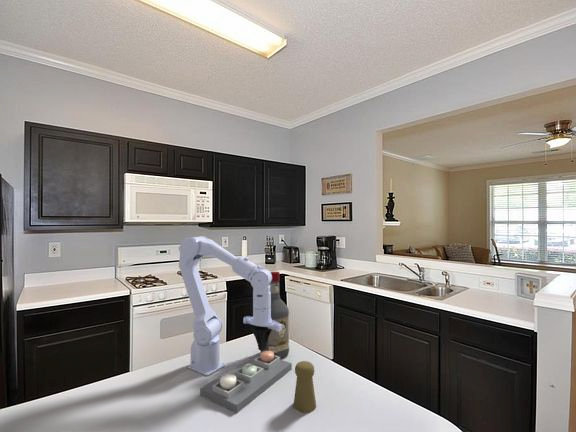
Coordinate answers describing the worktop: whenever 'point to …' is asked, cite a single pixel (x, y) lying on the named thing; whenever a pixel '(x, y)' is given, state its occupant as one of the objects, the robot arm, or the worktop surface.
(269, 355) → the terracotta button
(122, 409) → the worktop surface
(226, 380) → the cream button
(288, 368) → the button panel
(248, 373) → the sage button
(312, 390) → the olive pawn
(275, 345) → the liquor
